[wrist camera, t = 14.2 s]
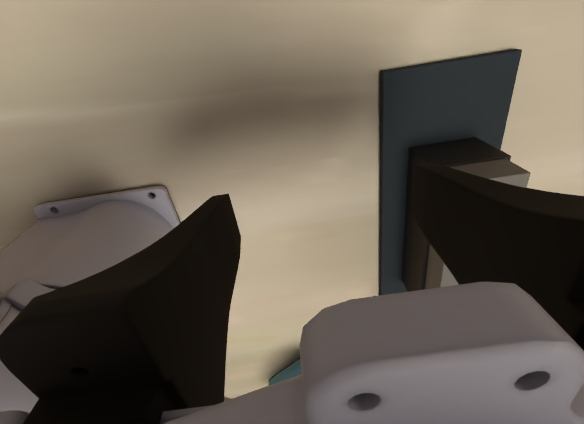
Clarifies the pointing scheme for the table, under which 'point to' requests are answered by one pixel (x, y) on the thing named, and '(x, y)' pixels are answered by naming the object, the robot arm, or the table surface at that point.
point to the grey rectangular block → (465, 157)
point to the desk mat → (434, 130)
